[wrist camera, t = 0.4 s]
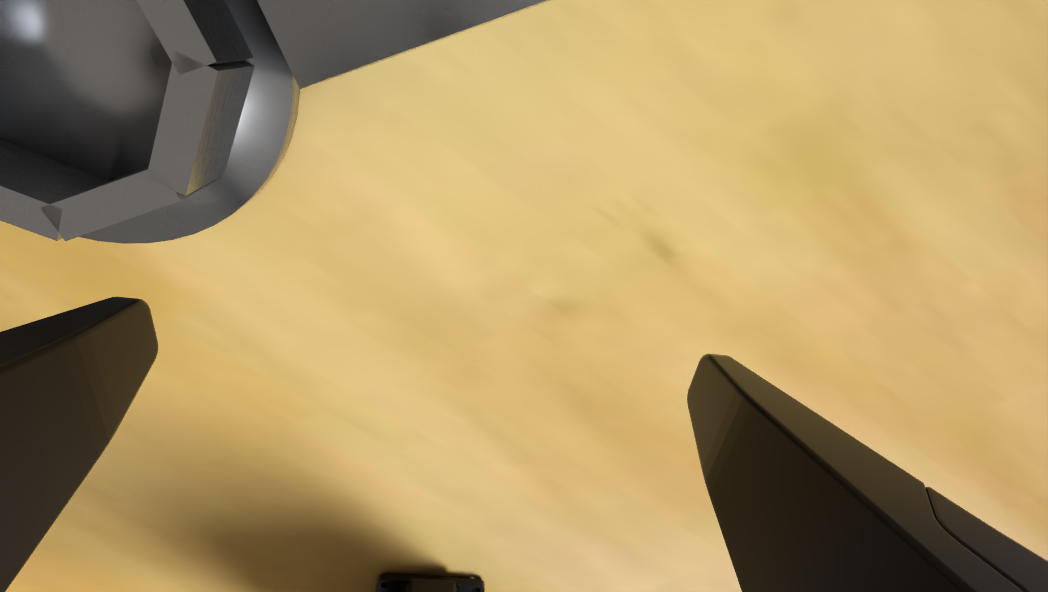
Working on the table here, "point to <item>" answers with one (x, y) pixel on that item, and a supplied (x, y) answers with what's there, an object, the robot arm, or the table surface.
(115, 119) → the duct collar
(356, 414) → the table surface
